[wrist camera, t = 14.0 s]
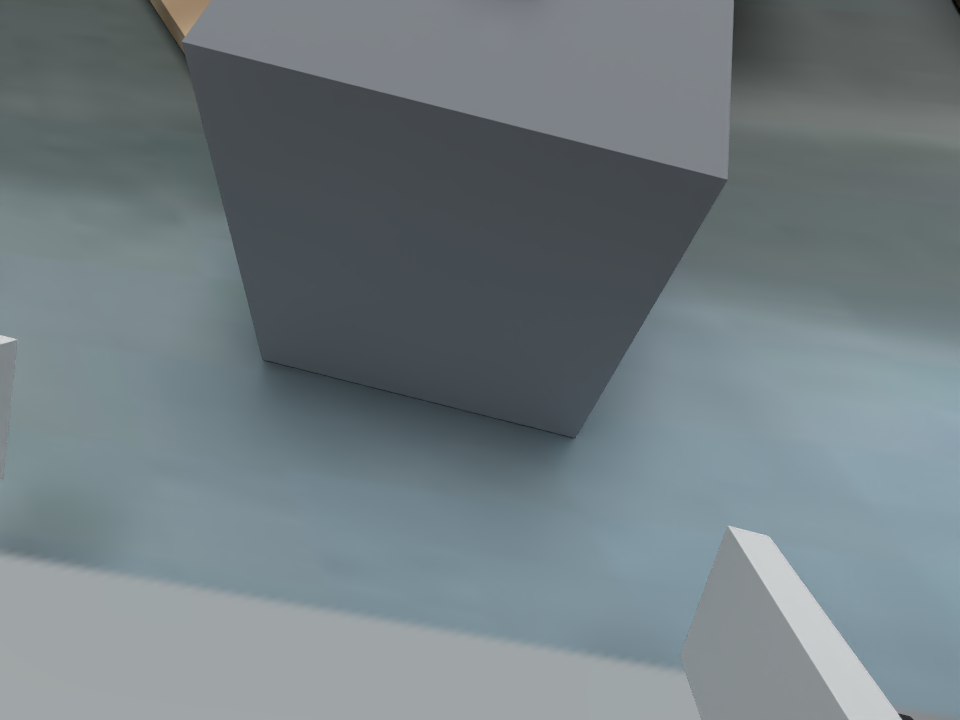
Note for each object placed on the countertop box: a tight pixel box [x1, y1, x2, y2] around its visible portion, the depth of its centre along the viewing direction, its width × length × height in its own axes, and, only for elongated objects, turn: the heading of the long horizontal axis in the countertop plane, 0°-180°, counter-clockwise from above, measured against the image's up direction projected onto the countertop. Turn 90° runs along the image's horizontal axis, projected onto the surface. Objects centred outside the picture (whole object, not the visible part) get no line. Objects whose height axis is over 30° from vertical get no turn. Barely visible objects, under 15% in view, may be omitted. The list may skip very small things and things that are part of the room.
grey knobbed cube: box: [182, 0, 734, 438], centre depth 18 cm, size 9×9×11 cm
